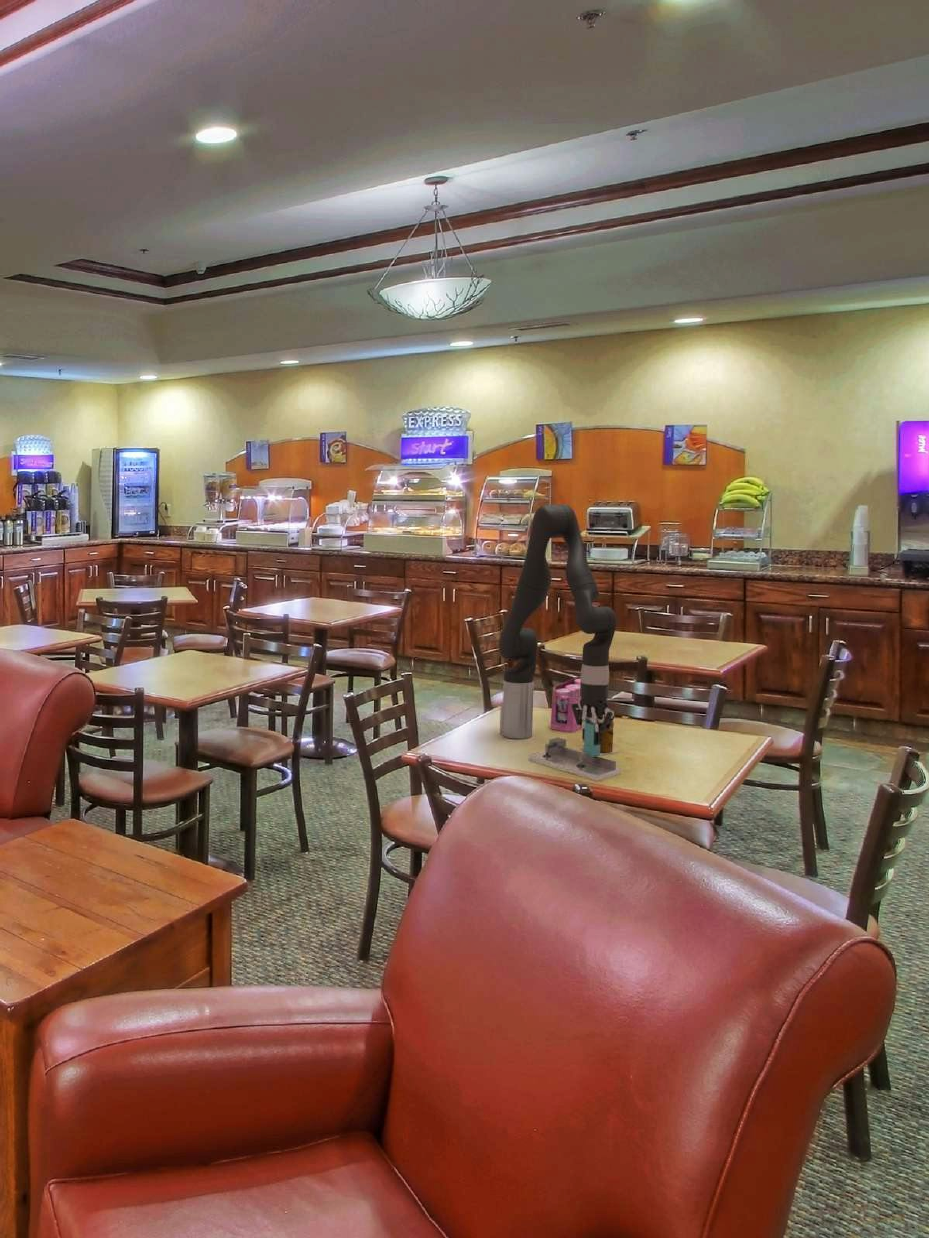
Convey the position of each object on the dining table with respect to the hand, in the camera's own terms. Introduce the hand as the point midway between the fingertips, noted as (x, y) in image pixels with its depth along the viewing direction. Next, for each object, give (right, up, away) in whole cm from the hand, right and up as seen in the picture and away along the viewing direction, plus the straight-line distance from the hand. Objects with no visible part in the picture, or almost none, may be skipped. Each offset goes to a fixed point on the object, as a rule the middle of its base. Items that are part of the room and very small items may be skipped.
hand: (592, 742), depth 240 cm
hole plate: (-5, -7, +2) cm, 9 cm away
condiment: (+5, -5, +18) cm, 19 cm away
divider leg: (-1, -5, 0) cm, 5 cm away
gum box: (+1, -1, +49) cm, 49 cm away
